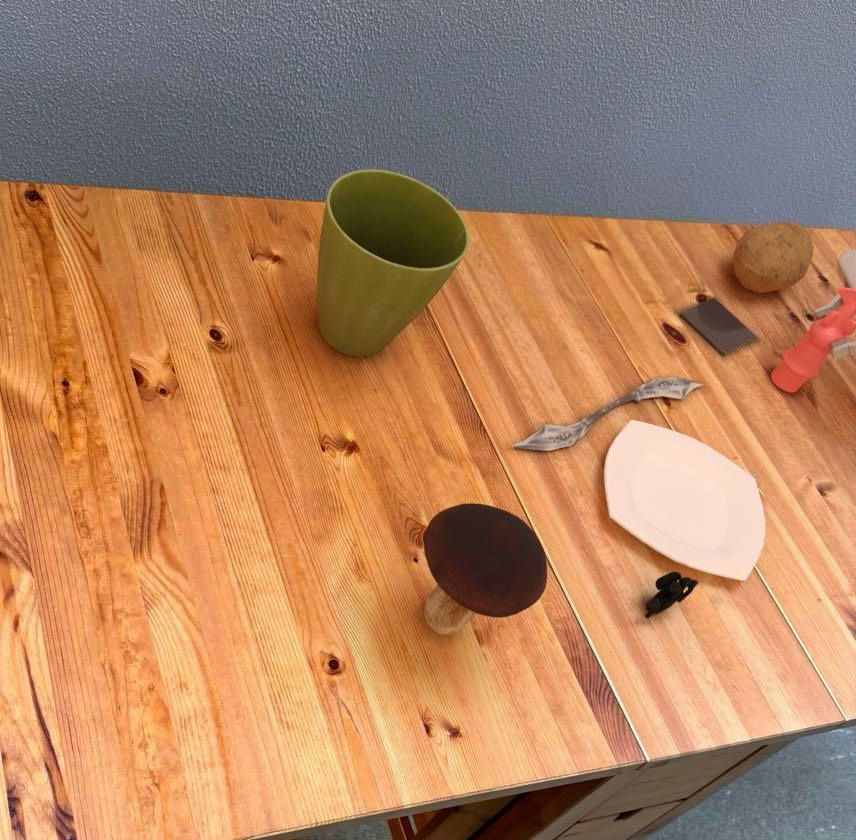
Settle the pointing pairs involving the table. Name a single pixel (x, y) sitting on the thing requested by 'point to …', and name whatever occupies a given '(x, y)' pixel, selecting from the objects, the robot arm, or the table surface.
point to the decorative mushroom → (481, 566)
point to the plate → (684, 500)
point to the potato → (772, 256)
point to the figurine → (816, 344)
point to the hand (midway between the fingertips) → (823, 335)
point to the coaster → (718, 326)
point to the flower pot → (382, 257)
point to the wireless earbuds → (669, 592)
